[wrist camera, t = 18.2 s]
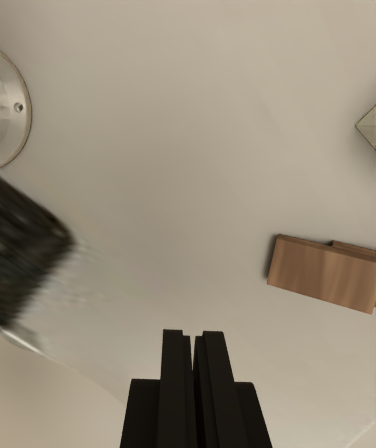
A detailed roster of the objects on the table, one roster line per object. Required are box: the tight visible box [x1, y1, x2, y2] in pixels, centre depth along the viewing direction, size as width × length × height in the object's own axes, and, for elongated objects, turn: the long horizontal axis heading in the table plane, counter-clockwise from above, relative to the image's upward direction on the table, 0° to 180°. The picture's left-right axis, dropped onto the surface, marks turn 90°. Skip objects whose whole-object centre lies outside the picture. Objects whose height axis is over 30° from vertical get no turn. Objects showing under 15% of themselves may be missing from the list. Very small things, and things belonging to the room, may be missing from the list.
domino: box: [267, 234, 376, 315], centre depth 35 cm, size 2×5×10 cm
